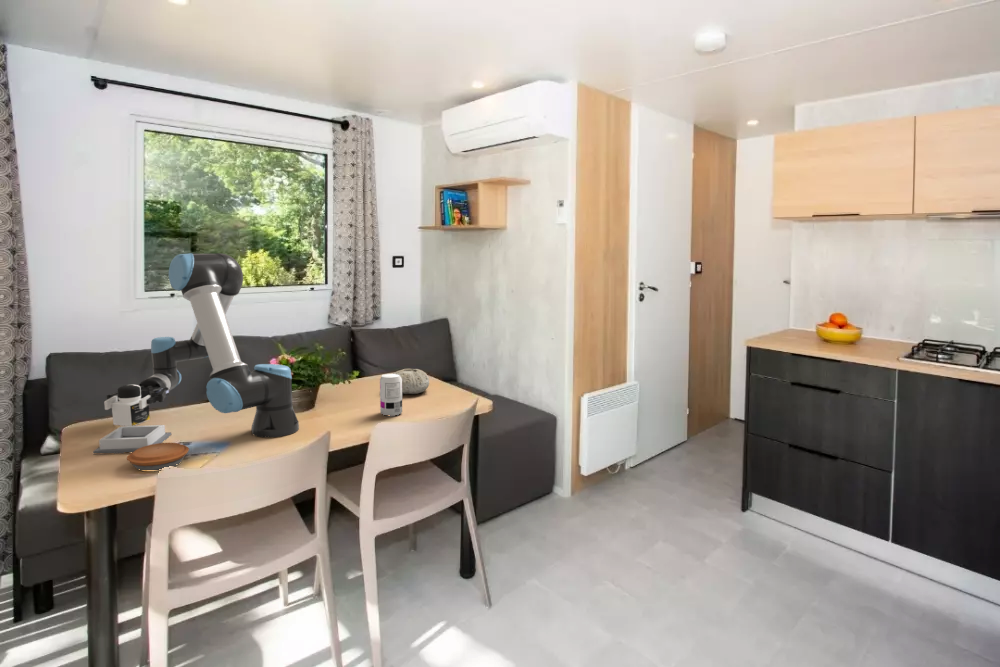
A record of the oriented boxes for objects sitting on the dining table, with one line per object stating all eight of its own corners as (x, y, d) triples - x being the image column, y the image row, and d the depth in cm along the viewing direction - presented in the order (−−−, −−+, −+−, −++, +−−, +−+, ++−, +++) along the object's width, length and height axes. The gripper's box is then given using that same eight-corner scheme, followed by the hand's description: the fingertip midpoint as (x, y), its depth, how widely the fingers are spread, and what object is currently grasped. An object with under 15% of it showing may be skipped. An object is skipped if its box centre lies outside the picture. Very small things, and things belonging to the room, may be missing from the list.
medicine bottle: (132, 427, 177) (129, 389, 176) (112, 425, 179) (109, 387, 177) (150, 420, 184) (147, 383, 182) (131, 418, 186) (128, 382, 184)
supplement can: (376, 415, 217) (375, 376, 215) (388, 409, 225) (387, 372, 222) (394, 417, 214) (394, 378, 212) (406, 412, 222) (405, 374, 219)
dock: (171, 435, 192) (170, 423, 191) (150, 451, 176) (149, 439, 175) (118, 437, 189) (117, 425, 188) (93, 454, 173) (92, 441, 173)
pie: (116, 467, 164) (115, 450, 163) (171, 451, 177) (170, 436, 176) (145, 479, 156) (144, 462, 155) (200, 461, 169) (199, 445, 168)
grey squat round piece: (422, 398, 241) (422, 375, 240) (382, 396, 245) (381, 373, 243) (434, 388, 259) (434, 367, 257) (397, 386, 262) (396, 365, 260)
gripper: (188, 396, 200) (162, 415, 178) (120, 398, 197) (85, 418, 175) (187, 376, 199) (160, 392, 177) (119, 377, 196) (83, 394, 174)
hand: (123, 405), depth 176 cm, fingers closed on medicine bottle, 9 cm apart
